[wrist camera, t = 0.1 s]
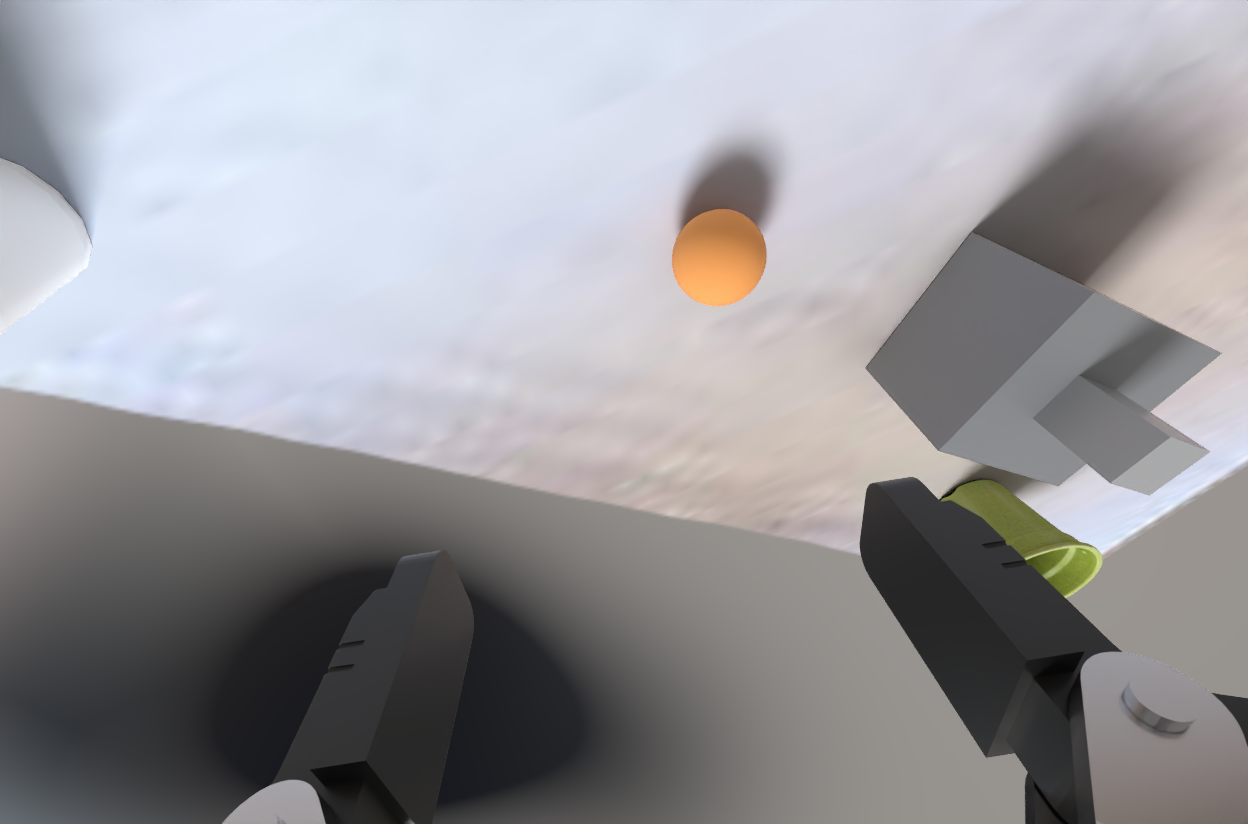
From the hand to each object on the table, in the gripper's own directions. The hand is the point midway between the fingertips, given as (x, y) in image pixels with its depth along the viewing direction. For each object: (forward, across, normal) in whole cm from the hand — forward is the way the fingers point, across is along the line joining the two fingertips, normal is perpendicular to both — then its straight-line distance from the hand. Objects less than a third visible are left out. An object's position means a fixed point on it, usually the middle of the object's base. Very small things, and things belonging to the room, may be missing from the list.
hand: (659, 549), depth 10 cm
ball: (+20, -6, 0) cm, 21 cm away
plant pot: (+27, -29, +27) cm, 48 cm away
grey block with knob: (+24, -24, +8) cm, 35 cm away
